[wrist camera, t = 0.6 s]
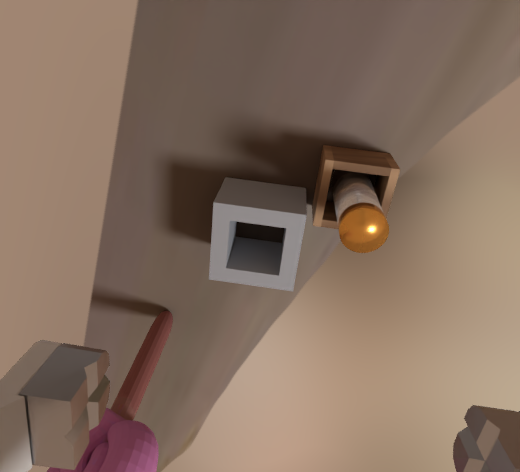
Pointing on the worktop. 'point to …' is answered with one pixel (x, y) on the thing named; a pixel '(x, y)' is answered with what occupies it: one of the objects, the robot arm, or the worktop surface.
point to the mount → (353, 162)
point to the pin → (358, 211)
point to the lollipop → (127, 416)
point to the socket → (252, 250)
